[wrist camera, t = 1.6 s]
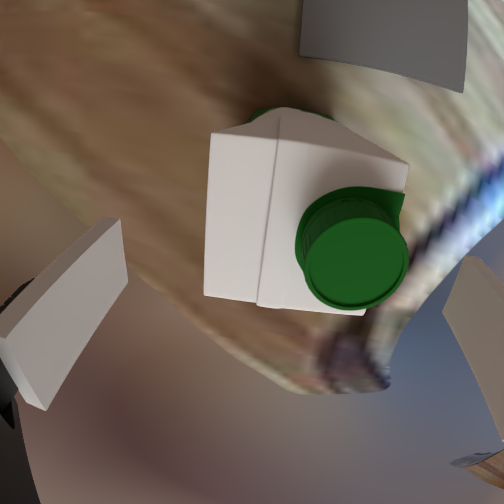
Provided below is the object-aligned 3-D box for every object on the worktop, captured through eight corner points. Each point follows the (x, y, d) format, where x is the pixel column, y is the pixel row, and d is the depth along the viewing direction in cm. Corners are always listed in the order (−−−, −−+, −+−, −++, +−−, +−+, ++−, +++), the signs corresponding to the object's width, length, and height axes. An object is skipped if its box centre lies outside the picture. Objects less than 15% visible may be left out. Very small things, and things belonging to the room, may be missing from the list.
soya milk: (329, 201, 31) (378, 356, 13) (237, 188, 31) (176, 333, 14) (345, 113, 26) (450, 164, 9) (245, 98, 27) (174, 119, 9)
